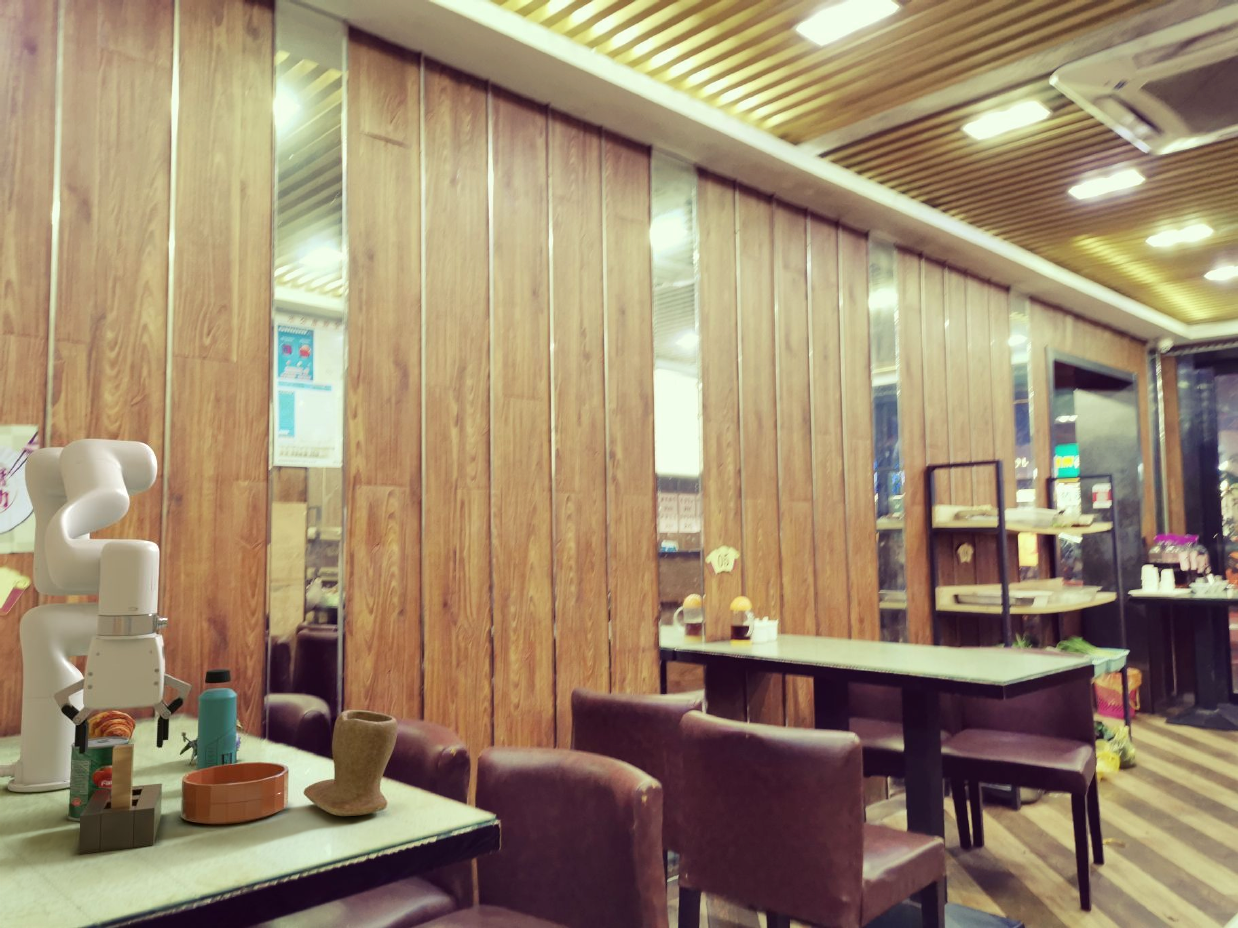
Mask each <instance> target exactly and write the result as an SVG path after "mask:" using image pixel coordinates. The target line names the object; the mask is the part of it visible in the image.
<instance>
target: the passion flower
mask: <svg viewBox="0 0 1238 928" xmlns="http://www.w3.org/2000/svg"><path fill="white" fill-rule="evenodd" d="M236 725H237V726H236V728H239V729H240V730H242V731H244V730H245V727H244V725H243V723H241V722H240V720H239V719H238V718H237V721H236ZM186 735H187V732H185V731H182V732H181V735H180V736H181V737H182V741H183V743H186V742H187V744H186V745H184V747H182V749H181V750H180V752H179V755H180V756H182V755H183V754H184V753H186V752H187V751H189V750H190V749H192V753H191V755H190V756H191V757H190V762H189V765H191V764H192V763H193V761H194V759H195V758H197V743H196V742H197V738H198V736H196V738H195V739H193V740H190V739H189V738H188V737H186ZM241 739H242V738H241V736H240V734H238V733H236V741H237V742H236V749H237V752H239V750H240V748H241V743H242V741H241ZM238 761H239V756H238V755H237V762H238Z"/></svg>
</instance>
